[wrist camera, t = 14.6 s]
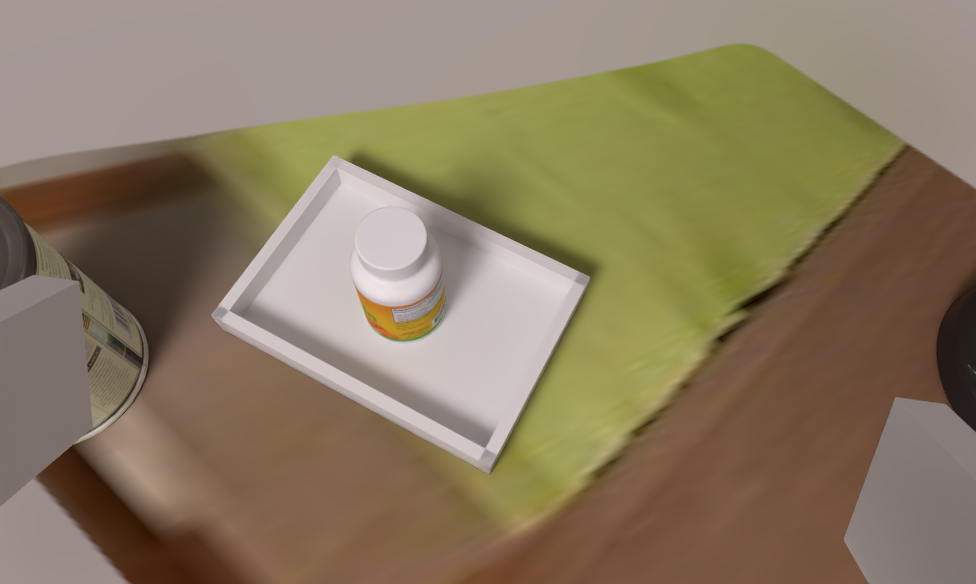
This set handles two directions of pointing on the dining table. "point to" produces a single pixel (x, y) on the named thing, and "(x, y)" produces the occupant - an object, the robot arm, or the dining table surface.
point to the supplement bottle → (398, 275)
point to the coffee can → (107, 325)
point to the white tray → (419, 365)
